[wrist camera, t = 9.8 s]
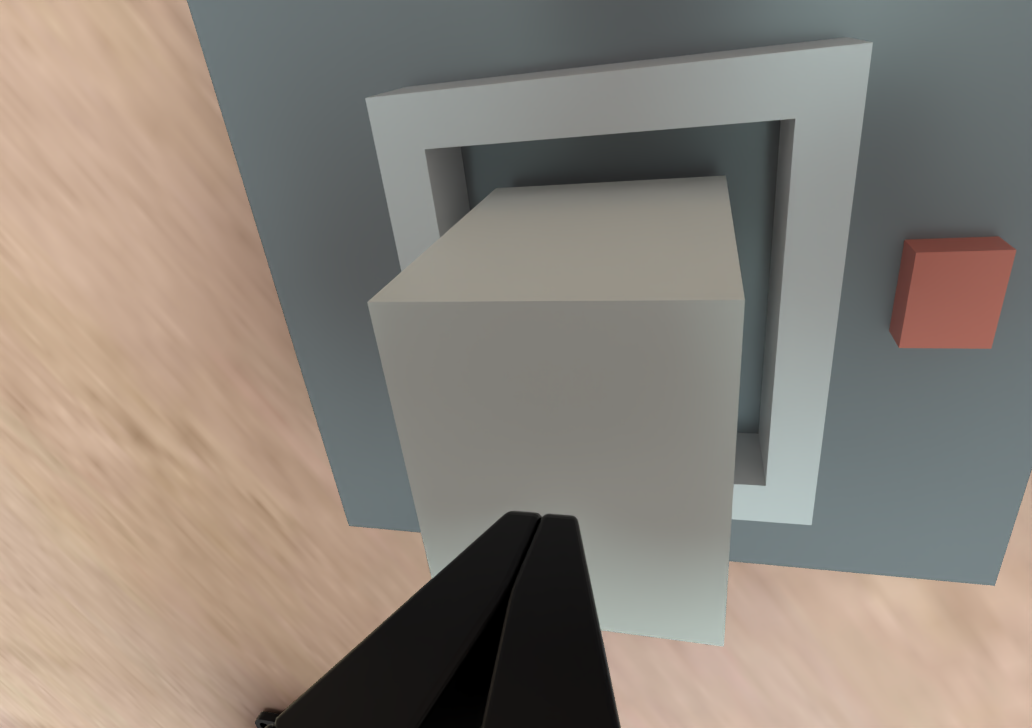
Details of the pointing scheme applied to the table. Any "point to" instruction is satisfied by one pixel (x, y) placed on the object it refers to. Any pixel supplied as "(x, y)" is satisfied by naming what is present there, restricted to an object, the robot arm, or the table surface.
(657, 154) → the socket plate
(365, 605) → the table surface
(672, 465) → the pale grey cuboid block
